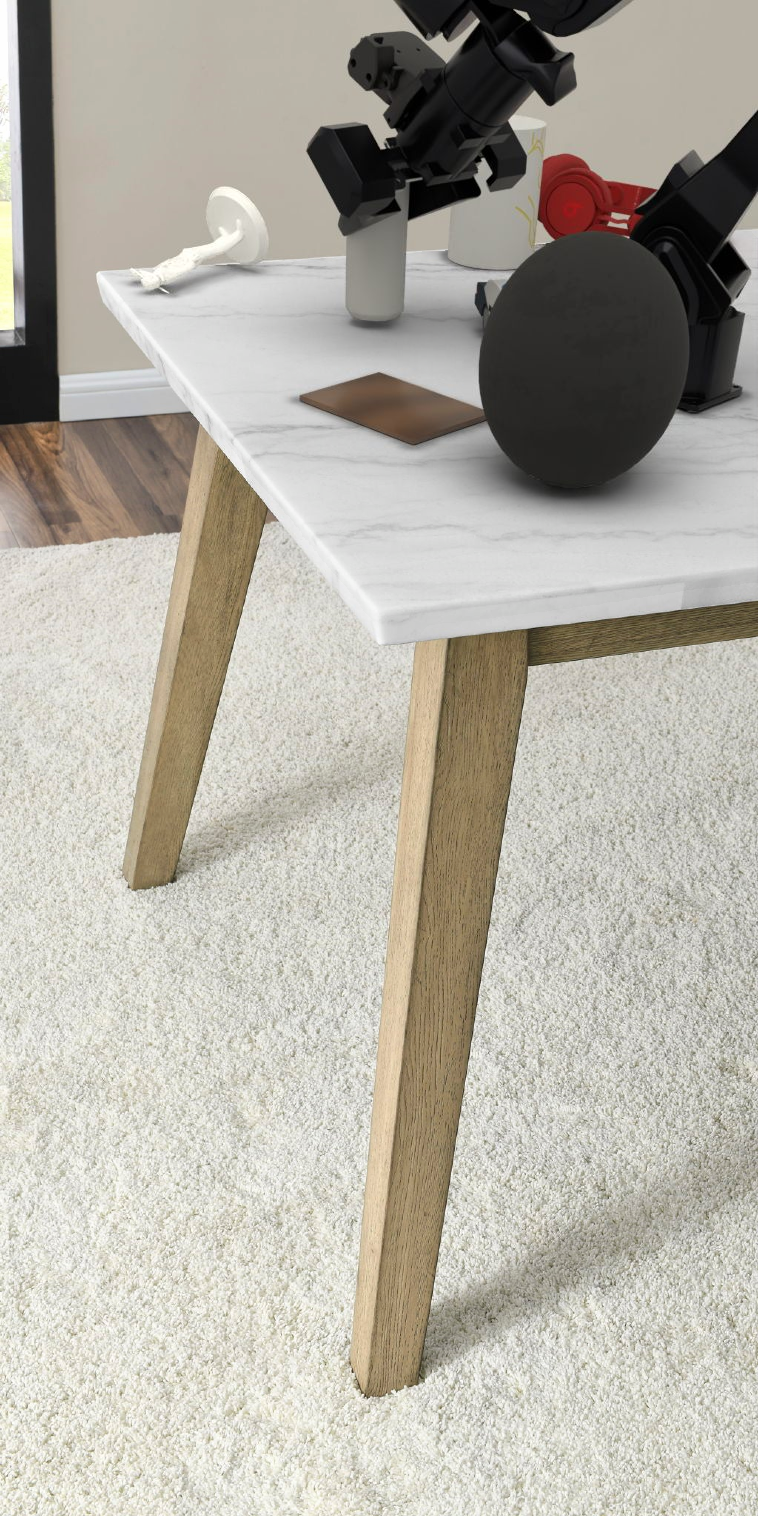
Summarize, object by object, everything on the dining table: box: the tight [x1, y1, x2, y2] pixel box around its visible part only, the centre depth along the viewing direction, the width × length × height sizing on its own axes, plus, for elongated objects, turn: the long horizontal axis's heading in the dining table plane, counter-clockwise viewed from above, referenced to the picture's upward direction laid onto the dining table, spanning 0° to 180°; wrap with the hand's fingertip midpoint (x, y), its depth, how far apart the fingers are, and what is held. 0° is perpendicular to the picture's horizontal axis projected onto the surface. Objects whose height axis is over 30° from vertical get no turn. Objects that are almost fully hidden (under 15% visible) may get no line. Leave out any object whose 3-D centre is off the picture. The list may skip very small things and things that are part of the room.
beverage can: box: [344, 182, 410, 322], centre depth 111 cm, size 5×5×12 cm
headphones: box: [537, 153, 659, 241], centre depth 141 cm, size 15×7×20 cm
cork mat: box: [299, 371, 487, 446], centre depth 98 cm, size 11×8×1 cm
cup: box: [447, 114, 548, 271], centre depth 130 cm, size 8×8×12 cm
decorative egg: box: [478, 231, 689, 489], centre depth 84 cm, size 12×12×15 cm
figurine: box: [129, 186, 270, 294], centre depth 121 cm, size 7×7×12 cm
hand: (365, 226), depth 111 cm, fingers closed on beverage can, 5 cm apart
